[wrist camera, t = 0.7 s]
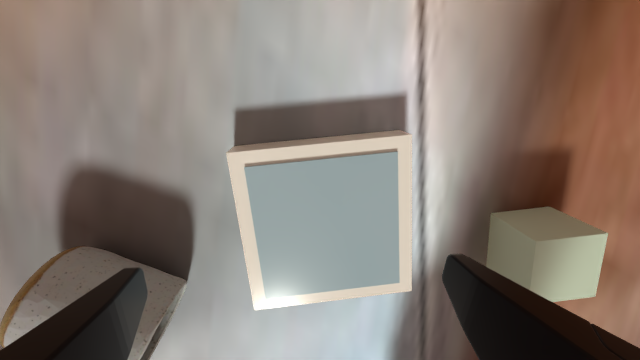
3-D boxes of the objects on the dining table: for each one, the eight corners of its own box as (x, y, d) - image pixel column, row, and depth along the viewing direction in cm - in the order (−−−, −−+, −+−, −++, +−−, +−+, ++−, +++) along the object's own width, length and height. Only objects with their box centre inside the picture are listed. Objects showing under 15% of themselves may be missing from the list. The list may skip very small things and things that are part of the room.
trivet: (400, 272, 26) (412, 292, 23) (258, 289, 25) (254, 312, 23) (399, 129, 22) (412, 135, 20) (234, 146, 22) (225, 153, 19)
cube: (541, 259, 26) (595, 296, 22) (485, 266, 26) (527, 305, 21) (548, 206, 25) (608, 233, 20) (489, 212, 25) (536, 241, 20)
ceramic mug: (91, 221, 22) (-10, 288, 15) (198, 261, 24) (154, 338, 17) (57, 328, 25) (-43, 429, 18) (156, 358, 27) (101, 462, 19)
